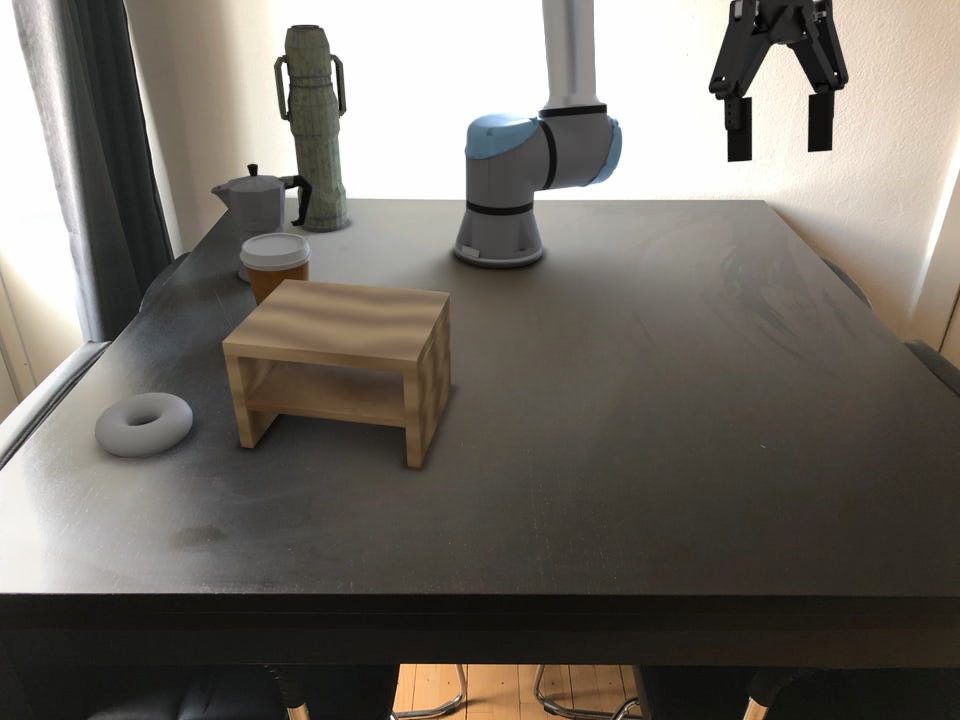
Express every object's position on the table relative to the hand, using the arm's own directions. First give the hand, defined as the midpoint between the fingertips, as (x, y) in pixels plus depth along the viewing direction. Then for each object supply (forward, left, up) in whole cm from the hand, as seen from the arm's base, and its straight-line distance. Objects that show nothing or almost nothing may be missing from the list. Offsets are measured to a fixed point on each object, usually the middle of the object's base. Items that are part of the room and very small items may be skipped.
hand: (781, 156), depth 84 cm
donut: (+29, -67, -27) cm, 78 cm away
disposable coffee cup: (0, -63, -27) cm, 68 cm away
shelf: (+21, -46, -27) cm, 57 cm away
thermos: (-41, -72, -27) cm, 87 cm away
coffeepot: (-17, -72, -27) cm, 79 cm away
